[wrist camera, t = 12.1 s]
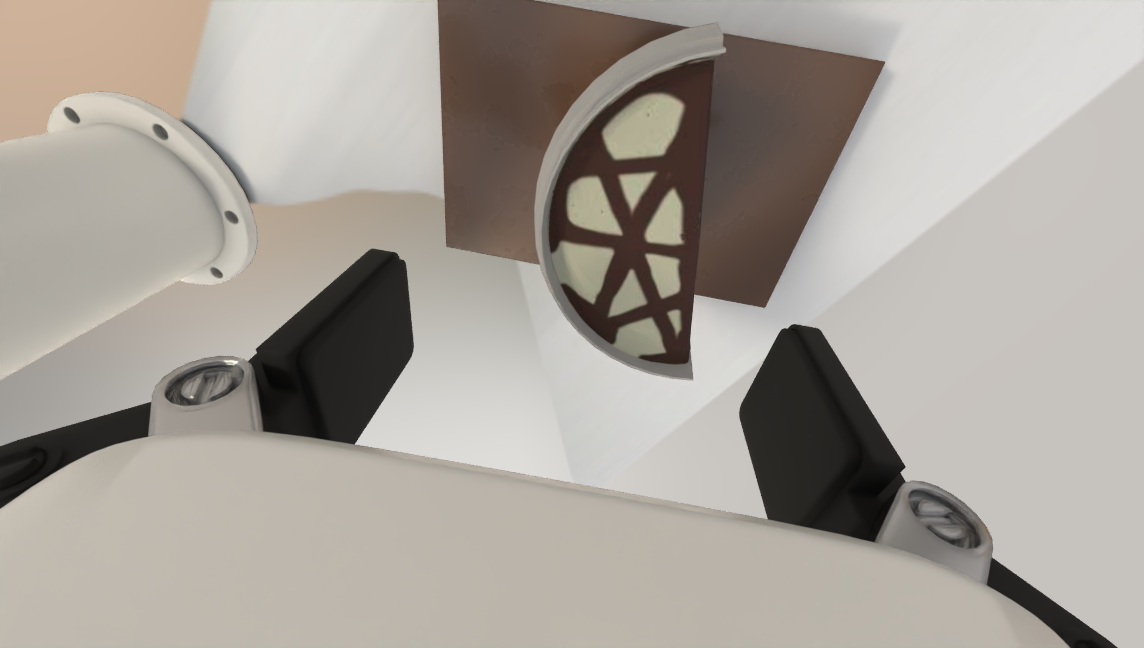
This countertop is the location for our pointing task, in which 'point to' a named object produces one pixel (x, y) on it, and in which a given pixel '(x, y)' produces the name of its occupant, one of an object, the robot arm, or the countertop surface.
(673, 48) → the food container
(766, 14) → the countertop surface
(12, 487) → the robot arm
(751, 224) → the cutting board
